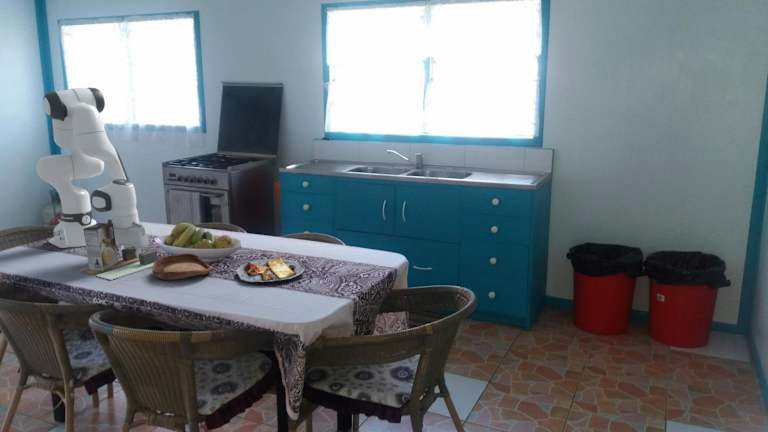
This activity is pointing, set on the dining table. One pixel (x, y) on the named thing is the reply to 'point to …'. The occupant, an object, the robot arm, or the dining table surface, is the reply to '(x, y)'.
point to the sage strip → (132, 266)
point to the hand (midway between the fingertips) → (130, 255)
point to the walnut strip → (126, 259)
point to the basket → (180, 267)
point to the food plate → (269, 270)
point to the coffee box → (100, 246)
